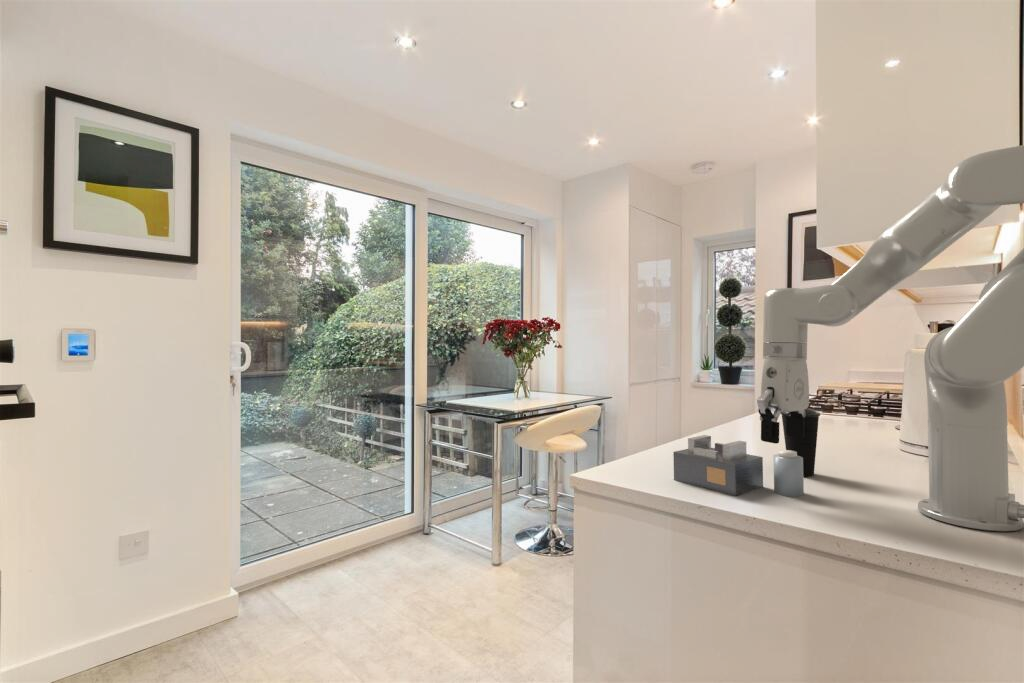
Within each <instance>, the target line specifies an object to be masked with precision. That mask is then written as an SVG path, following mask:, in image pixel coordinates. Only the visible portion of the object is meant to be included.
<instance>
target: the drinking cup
mask: <svg viewBox="0 0 1024 683" xmlns="http://www.w3.org/2000/svg"><path fill="white" fill-rule="evenodd" d="M805 413H806V415H805V417H804V437H803V438H798V437H793V436H788V435H786V417H787V416H789V414H788V412H784V411H783V410H782V411H781V413H780V415H781V418H782V419H781V420H782V421H781V422H782V428H783V429H782V430H783V435H784V436H783V438H784V445H785V450H791V451H796V452H797V456H801V457H803V478H804V477H805V478H806V477H809V478H810V477H813V476H814V475H815V466H816V452H817V445H818V444H817V443H818V442H817V441H818V428H819V418H820V417H821V413H820V412H819V411H816V410H814V409H812V408H809V407H808V408H806V409H805ZM802 418H803V417H802Z"/></svg>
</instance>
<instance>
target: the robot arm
mask: <svg viewBox="0 0 1024 683" xmlns="http://www.w3.org/2000/svg"><path fill="white" fill-rule="evenodd" d="M1018 204H1024V144H1021V145H1017V146H1011V147H1005V148H999V149H995V150H990V151H985V152H981V153H977V154H974V155H972V156H970V157H967V158H966V159H963V160H962V161H960V163H958V164H956V165H955V167H954V168H952V170H950V172H949V174H948V176H947V177H946V179H945V180H944V181H943V182H942V183H941V184H940V185H938V186H937V187H936V188H934V190H932V191H931V192H930V193H929V194H927V195H926V196H924V198H922V199H921V201H919V202H918V203H917V204H915V206H913V207H912V208H911V209H910V210H909V211H907V212H906V213H904V215H902V216H901V217H900V218H899V219H897V220H896V221H895V222H894V223H892V225H890V226H889V227H888V228H886V229H885V230H884V231H883V232H882V233H881V234H880V235H879V236H878V237H877V238H876V239H875V240H874V242H873V243H871V246H870V247H869V248H868V249H867V251H866V252H865V253H864V254H863V255H862V257H861V258H860V259H858V260H857V261H856V263H855V264H853V266H851V267H850V268H849V269H848V270H847V271H846V272H845V273H843V274H842V275H840V277H838V279H836V280H835V281H833V282H832V283H831V284H826V285H820V286H814V287H806V288H798V287H797V288H795V287H781V288H774V289H773V288H772V289H769V290H768V291H766V292H765V294H764V297H763V323H762V324H763V333H762V334H763V335H762V359H763V360H764V361H763V365H762V372H761V373H762V374H761V383H760V384H761V385H760V396H759V397H758V398H757V399H756V403H757V407H758V414H759V420H760V440H761V442H765V443H771V444H779V443H780V421H779V422H778V420H779V417H780V415H781V414H780V413H781V411H782V410H783V411H784V412H788V414H789V416H787V417H786V435H788V436H793V437H798V438H803V437H804V417H805V415H806V413H805V409H806V408H809V406H810V389H809V388H810V385H809V384H810V383H809V371H808V369H809V368H808V364H807V360H808V324H811V325H812V324H813V325H821V326H825V327H833V328H835V327H839V326H840V327H841V326H844V325H846V324H847V323H848V322H850V321H852V320H853V319H854V318H855V317H857V316H858V315H859V314H860V313H862V312H863V311H864V310H866V309H867V308H868V307H869V306H870V305H872V304H873V303H875V301H877V300H879V298H880V297H882V296H884V295H886V293H887V292H889V291H890V290H892V288H894V287H895V286H897V285H898V284H899V283H901V282H903V281H904V280H906V279H907V278H909V277H911V276H913V275H914V274H915V273H917V272H918V271H920V270H921V269H922V268H924V266H926V265H927V264H929V263H930V262H931V261H933V260H934V259H935V258H936V257H938V256H939V255H940V254H941V253H943V252H944V251H945V250H946V249H948V248H949V247H951V246H952V245H953V244H954V243H955V242H957V241H958V240H960V239H961V238H962V237H963V236H964V235H966V234H967V233H969V232H970V231H972V230H973V229H974V228H975V227H976V226H977V225H979V224H980V223H982V222H983V221H984V220H986V218H989V216H990V215H992V214H993V213H995V212H996V211H997V210H998V209H999V208H1000V207H1001V206H1007V205H1008V206H1009V205H1018ZM1023 368H1024V247H1023V248H1022V249H1021V250H1020V251H1019V252H1018V253H1017V254H1016V255H1015V256H1014V257H1013V258H1012V260H1010V261H1009V263H1007V264H1006V265H1005V267H1004V268H1002V269H1001V270H1000V272H998V273H997V274H996V275H995V276H993V277H992V278H991V279H990V280H989V281H988V282H987V283H986V284H985V285H984V286H983V288H982V290H980V294H979V297H978V300H977V301H976V303H974V304H973V305H972V307H971V308H970V309H968V311H966V313H965V314H964V315H963V316H962V317H961V318H960V319H959V320H958V321H957V322H956V323H955V324H954V325H953V326H950V327H947V328H945V329H943V330H940V331H939V332H937V333H936V334H934V335H933V337H932V338H930V339H929V342H928V343H927V344H926V347H925V351H924V373H925V375H924V376H925V385H926V395H927V396H926V398H927V446H928V447H927V448H928V453H927V454H928V492H929V494H928V495H929V496H928V498H926V499H925V498H924V499H921V500H919V501H918V502H917V509H918V511H919V512H920V513H921V514H923V515H924V516H926V517H929V518H930V519H933V520H937V521H940V522H943V523H947V524H951V525H953V526H959V527H963V528H969V529H976V530H982V531H989V532H990V531H993V532H1015V531H1019V530H1022V529H1024V504H1022V503H1020V501H1016V494H1015V493H1011V492H1010V491H1009V486H1010V485H1009V458H1008V457H1009V455H1008V454H1009V453H1008V452H1009V448H1008V447H1009V446H1008V406H1007V405H1008V404H1007V394H1006V388H1005V381H1007V380H1008V379H1010V378H1012V377H1013V376H1014V375H1015V374H1017V373H1018V372H1019V371H1021V370H1022V369H1023ZM802 417H803V418H802Z"/></svg>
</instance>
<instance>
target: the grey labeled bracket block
mask: <svg viewBox="0 0 1024 683" xmlns="http://www.w3.org/2000/svg"><path fill="white" fill-rule="evenodd" d="M672 453H673V455H672V456H673V480H674V481H678V482H681V483H685V484H689V485H692V486H696V487H699V488H705V489H708V490H711V491H716V492H719V493H723V494H727V495H731V496H734V497H736V496H739V495H743V494H746V493H749V492H751V491H755V490H758V489H760V488H763V487H764V466H763V462H764V459H763V456H760V455H753V454H747V441H743V440H736V441H731V442H727V443H720V442H715V443H714V447H712V436H711V435H706V434H703V435H698V436H692V437H688V438H687V448H685V449H680V450H675V451H673V452H672Z"/></svg>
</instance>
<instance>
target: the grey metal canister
mask: <svg viewBox="0 0 1024 683" xmlns="http://www.w3.org/2000/svg"><path fill="white" fill-rule="evenodd" d="M772 458H773V492H774V493H775V494H778V495H780V496H783V497H784V496H785V497H792V498H799V497H803V496H805V492H804V491H805V490H804V489H805V488H804V487H805V486H804V485H805V484H804V476H803V457H801V456H797V452H796V451H791V450H786V449H781V450H779V451H778V453H775V454H773V457H772Z"/></svg>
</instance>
